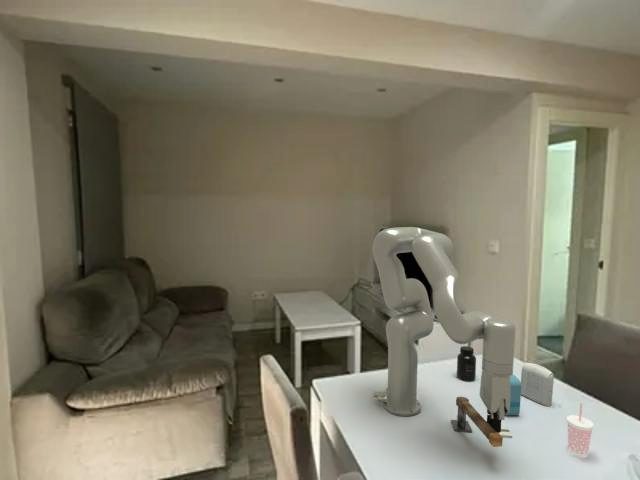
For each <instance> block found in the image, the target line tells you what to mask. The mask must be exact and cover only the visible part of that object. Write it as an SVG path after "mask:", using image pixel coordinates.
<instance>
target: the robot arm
mask: <svg viewBox="0 0 640 480" xmlns="http://www.w3.org/2000/svg"><path fill="white" fill-rule="evenodd" d="M371 251H372V254H373V255H372V256H373V259H374V263H375V265H376V268H377V271H378V276H379V281H380V286H381V292H382V294H383V295H382V296H383V300H384V303H385V305H386V307H387V308H388V309H390V310H392V311H393V310H394V311H398V310H403V309H404V310H405V309H406V310H407V311H405V312H401V313H398V314H395V315H393V316H392V317H390V318H389V319H388V320H387V322H386V325H385V333H386V339H387V348H388V349H387V352H388V356H387V361H388V362H387V363H388V364H387V387H386V389H385V391H373V398H375V399H376V398H377V401H379V402H382V407H383V409H384V410H386V412H389V413H391V414H392V415H396V416H401V417H410V416H415V415H417V414H419V413H420V412H421V410H422V404H421V401H419V400H418V399H417V394H418V393H417V392H418V391H417V390H418V387H417V386H418V364H419V363H418V361H419V360H418V359H419V358H418V351H417V349H416V346H415V342H416V341H418V340H421V339H424V338H426V337H428V336H429V335H431V334H432V332H433V330H434V325H435V324H434V316H433V312H432V308H431V303H430V300H429V295H428V291H427V289H426V286H425V285H424V284H423V282H421V281H420V280H419V279H417V278H412V277H410V278H407V275H406V273H405V267H404V266H403V263H402V261H401V260H400V259H399V258H398V256H397V254H403V253H404V254H405V253H412V256H413V257H414V258H415V261H416V263H417V264H418V266H419V268H421V271H422V272H423V275H424V276H425V278H426V279H427V281H428V283H429V285H430V286H431V289H432V305H433V310H434V314H435V316H436V319H437V320H438V322H439V323H440V325H441V328H442V329H443V330H444V332H445V334H446V336H447V337H449V339H450V340H452V342H454V343H456V344H459V345H467V344H470V343H472V342H475V341H477V340H483V343H482V357H481V359H482V360H481V376H480V383H479V384H480V387H479V396H480V399H481V401H482V403H483V405H484V406H485V407H486V413H487V414H486V422H487V423H488V424H489V425H490V426H491V427H492V428H493V429H494V430H495V431H496V432H497V433H500V432H501V426H502V421H505V415H504V412H505V413H506V414H508V413H509V410H510V376H511V375H512V374H513V375H514V361H515V358H514V357H515V345H516V344H515V342H516V325H515V323H514V322H513V321H511V320H509V319H506V318H500V317H495V316H493V315H490V314H488V313H487V312H484V311H481V310H473V311H469V312H465V313H462V312H461V310H460V308H459V307H458V304H457V302H456V300H455V297H454V289H455V286H456V284H457V282H458V280H459V279H460V278H459V277H460V275H459V272H458V271H457V269H456V267H455V266H454V264H453V263H452V261H451V260H450V259H449V258H450V257H451V256H452V255H453V253H454V244H453V241H452V240H451V239H450V237H448V236H447V234H446V235H445V234H444V233H441V232H436V231H432V230H429V229H425V228H420V227H417V226H416V227H415V226H402V227H390V228H385V229H383V230H381V231H379V232H378V233H377V234H376V235H375V237H374V239H373V241H372V250H371Z"/></svg>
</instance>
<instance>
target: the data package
mask: <svg viewBox="0 0 640 480" xmlns="http://www.w3.org/2000/svg"><path fill="white" fill-rule="evenodd" d="M521 396H522V395H521V379H519V378H518V377H517V376H516V375H515V374H514V373H513V374H512V375H511V376H510V410H509V413H508V414H506V413H505V412H504V416H519V415H520V412H521V411H520V409H521V398H522V397H521Z"/></svg>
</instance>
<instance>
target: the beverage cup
mask: <svg viewBox="0 0 640 480" xmlns="http://www.w3.org/2000/svg"><path fill="white" fill-rule="evenodd" d="M579 404H580V405H579V415H575V414H572V415H571V414H570V415H567V417H566V423H567V451H568V452H569V454H571V455H572V456H574V457H577V458H582V459H583V458H584V459H585V458H587V457H588V456H589V450H590V446H591V445H590V443H591V438H592V433H593V432H592V431H593V429H594V426H595V425H594V423H593V421H591V420H590V419H588V418H585V417H584V416H583V415H582V412H583V403H582V402H581V403H579Z"/></svg>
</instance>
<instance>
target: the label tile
mask: <svg viewBox="0 0 640 480" xmlns="http://www.w3.org/2000/svg"><path fill="white" fill-rule="evenodd" d="M499 434H500V435H501V436H502V437H503V438H508V439H509V438H510V439H512V438H513V435H512V434H511V432H510V430H509V429H508V426H506V425H501V432H500V433H499Z"/></svg>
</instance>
